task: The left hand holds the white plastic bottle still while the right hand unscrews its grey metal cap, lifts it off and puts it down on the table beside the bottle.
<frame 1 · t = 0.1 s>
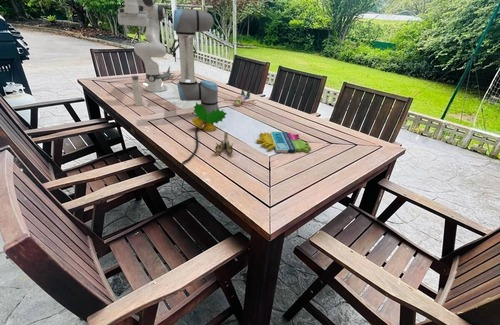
left hand: (135, 33, 185), 48 cm above the table, tool pointing down, fingers open, 8 cm apart
right hand: (184, 61, 211), 28 cm above the table, tool pointing down, fingers open, 13 cm apart
jawbone: (224, 151, 138), on the table
airplane: (164, 79, 274), on the table
bottle: (139, 104, 197), on the table
ornament: (209, 128, 165), on the table
toy: (241, 101, 221), on the table
packaged gardening gloves: (281, 143, 152), on the table
cap: (134, 76, 187), point 21 cm above the table, screwed on, not yet turned
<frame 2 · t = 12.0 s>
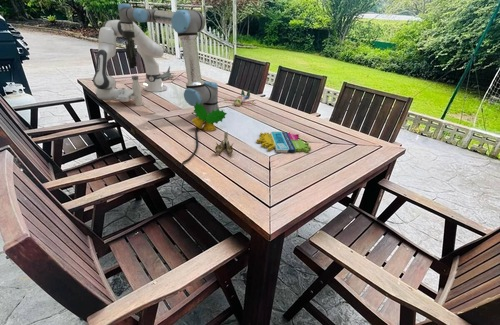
left hand: (138, 96, 194), 7 cm above the table, tool horizontal, fingers closed on bottle, 5 cm apart
right hand: (133, 67, 184), 27 cm above the table, tool pointing down, fingers open, 7 cm apart
bottle: (139, 104, 197), on the table, touching left hand
everything else where it was.
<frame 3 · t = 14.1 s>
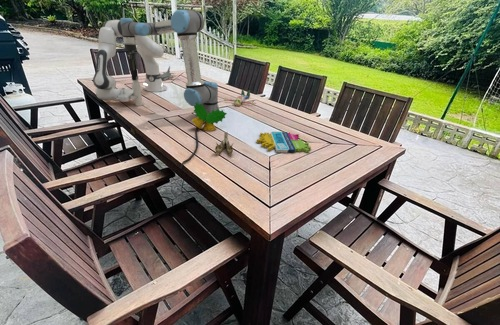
left hand: (138, 96, 194), 7 cm above the table, tool horizontal, fingers closed on bottle, 5 cm apart
right hand: (135, 79, 188), 19 cm above the table, tool pointing down, fingers closed on cap, 4 cm apart
bottle: (139, 104, 197), on the table, touching left hand
cap: (134, 76, 187), point 21 cm above the table, screwed on, not yet turned, touching right hand
everything else where it was.
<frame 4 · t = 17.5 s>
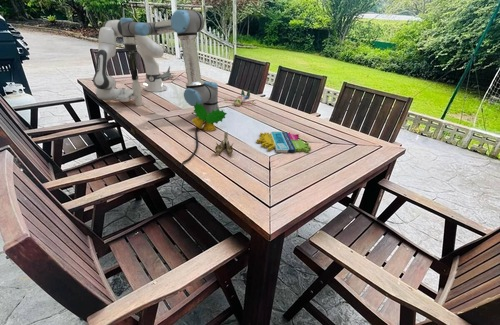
left hand: (138, 96, 194), 7 cm above the table, tool horizontal, fingers closed on bottle, 5 cm apart
right hand: (135, 79, 188), 19 cm above the table, tool pointing down, fingers closed on cap, 4 cm apart
bottle: (139, 104, 197), on the table, touching left hand
cap: (134, 76, 187), point 21 cm above the table, turned 104° so far, risen 0.1 cm, still on its thread, touching right hand
everything else where it was.
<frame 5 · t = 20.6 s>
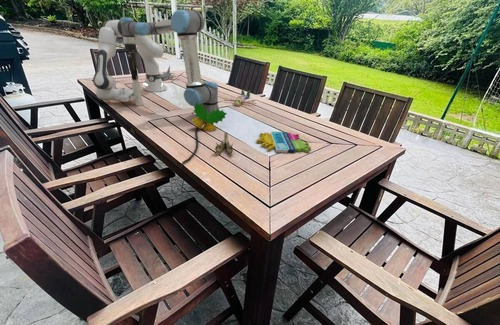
left hand: (138, 96, 194), 7 cm above the table, tool horizontal, fingers closed on bottle, 5 cm apart
right hand: (135, 78, 188), 19 cm above the table, tool pointing down, fingers closed on cap, 4 cm apart
bottle: (139, 104, 197), on the table, touching left hand
cap: (134, 76, 187), point 21 cm above the table, turned 208° so far, risen 0.2 cm, still on its thread, touching right hand
everything else where it was.
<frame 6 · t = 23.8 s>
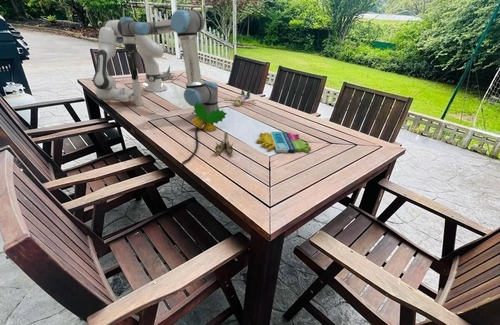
left hand: (138, 96, 194), 7 cm above the table, tool horizontal, fingers closed on bottle, 5 cm apart
right hand: (135, 78, 188), 19 cm above the table, tool pointing down, fingers closed on cap, 4 cm apart
bottle: (138, 104, 197), on the table, touching left hand
cap: (134, 76, 187), point 21 cm above the table, turned 312° so far, risen 0.3 cm, still on its thread, touching right hand
everything else where it was.
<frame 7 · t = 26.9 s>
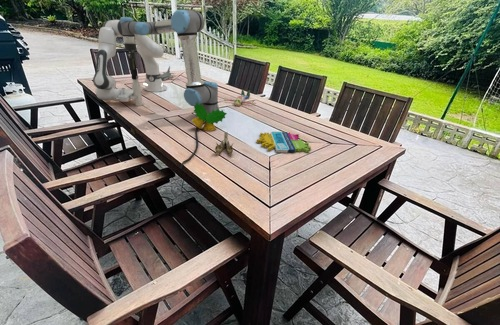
left hand: (138, 96, 194), 7 cm above the table, tool horizontal, fingers closed on bottle, 5 cm apart
right hand: (135, 78, 188), 19 cm above the table, tool pointing down, fingers closed on cap, 4 cm apart
bottle: (138, 104, 197), on the table, touching left hand
cap: (134, 75, 187), point 21 cm above the table, turned 415° so far, risen 0.5 cm, still on its thread, touching right hand
everything else where it was.
when the right hand's fingers open (1 cm above the table, at t = 33.3 s): cap stays where it is, point 2 cm above the table.
when the left hand's fingers open (7 cm above the table, at t = 34.7 s): bottle stays where it is, on the table.
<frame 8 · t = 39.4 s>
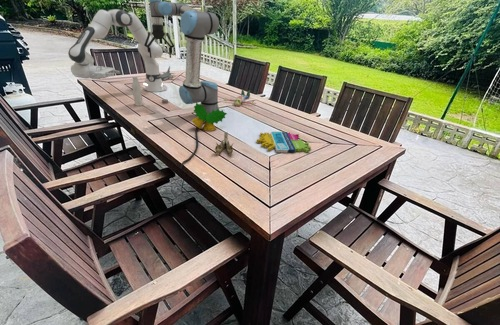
left hand: (116, 73, 186), 22 cm above the table, tool horizontal, fingers open, 8 cm apart
right hand: (160, 57, 189), 33 cm above the table, tool pointing down, fingers open, 13 cm apart
bottle: (139, 104, 197), on the table
cap: (164, 100, 204), point 2 cm above the table, off its thread
everything else where it was.
at the end: cap came off its thread; cap point 1.8 cm above the table; the left hand is holding nothing; the right hand is holding nothing; bottle tilted 0°; bottle moved 0.0 cm from its start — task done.
